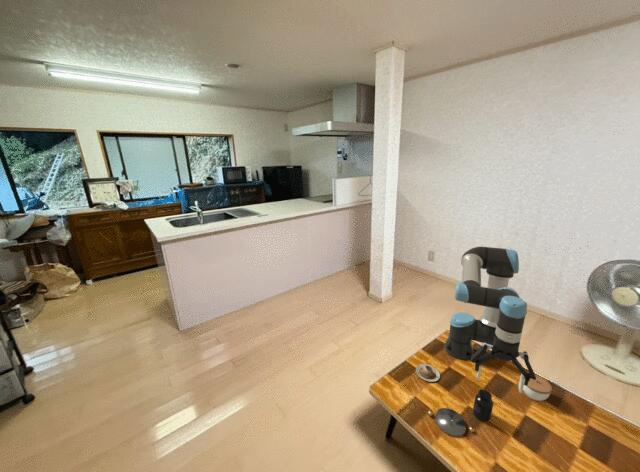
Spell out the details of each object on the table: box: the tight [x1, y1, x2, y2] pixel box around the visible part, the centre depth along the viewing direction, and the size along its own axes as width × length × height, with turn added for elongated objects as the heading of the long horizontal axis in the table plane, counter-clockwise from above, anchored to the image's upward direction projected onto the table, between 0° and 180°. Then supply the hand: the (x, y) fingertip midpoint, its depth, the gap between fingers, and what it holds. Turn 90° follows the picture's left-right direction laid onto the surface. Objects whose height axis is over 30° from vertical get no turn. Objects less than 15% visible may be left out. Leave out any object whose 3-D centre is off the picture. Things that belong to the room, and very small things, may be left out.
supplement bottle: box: [472, 388, 494, 422], centre depth 112 cm, size 7×7×12 cm
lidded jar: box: [523, 374, 553, 402], centre depth 121 cm, size 11×11×9 cm
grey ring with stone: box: [415, 363, 441, 383], centre depth 137 cm, size 12×12×5 cm
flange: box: [427, 407, 475, 438], centre depth 111 cm, size 12×18×2 cm, turn 61°
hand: (498, 383), depth 100 cm, fingers open, 13 cm apart
